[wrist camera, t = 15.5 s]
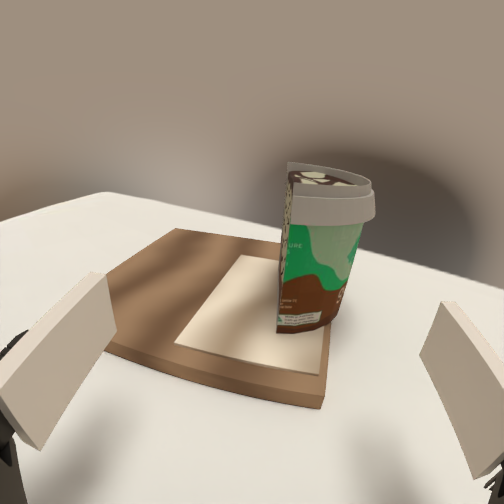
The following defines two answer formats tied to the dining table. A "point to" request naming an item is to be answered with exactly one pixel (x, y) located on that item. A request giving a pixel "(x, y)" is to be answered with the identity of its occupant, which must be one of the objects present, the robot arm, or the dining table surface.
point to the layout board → (215, 318)
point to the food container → (318, 243)
